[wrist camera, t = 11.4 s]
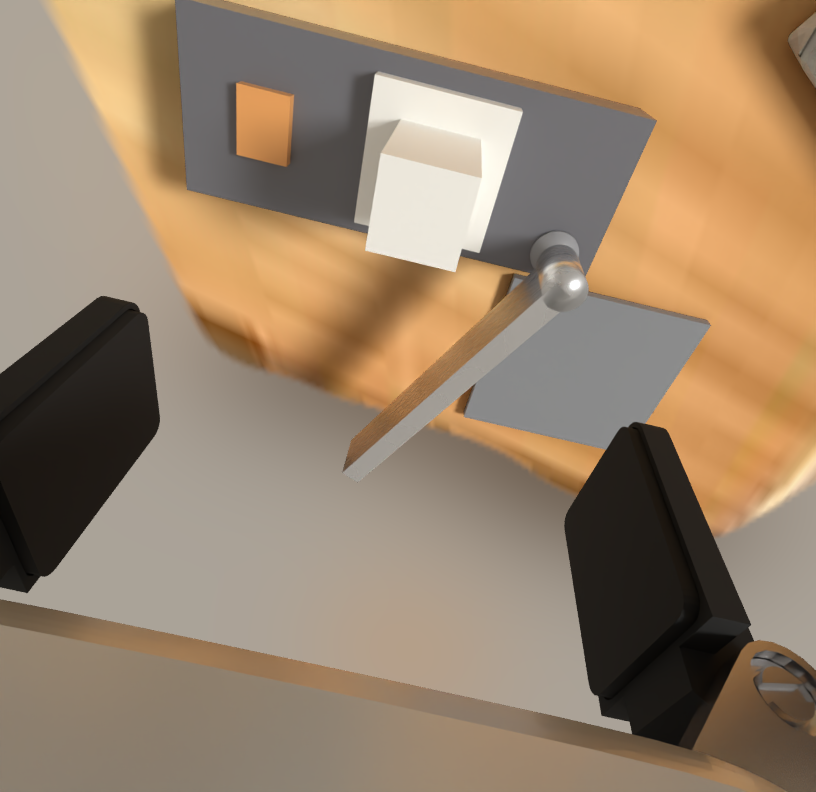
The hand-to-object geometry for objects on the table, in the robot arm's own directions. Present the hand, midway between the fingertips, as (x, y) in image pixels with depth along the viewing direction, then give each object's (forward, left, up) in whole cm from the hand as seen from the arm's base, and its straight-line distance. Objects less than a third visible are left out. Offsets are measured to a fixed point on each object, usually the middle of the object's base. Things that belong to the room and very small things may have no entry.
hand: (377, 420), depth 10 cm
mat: (+12, -11, -21) cm, 27 cm away
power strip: (-2, 0, -21) cm, 21 cm away
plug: (0, 0, -21) cm, 21 cm away
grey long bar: (+3, -10, -17) cm, 20 cm away
